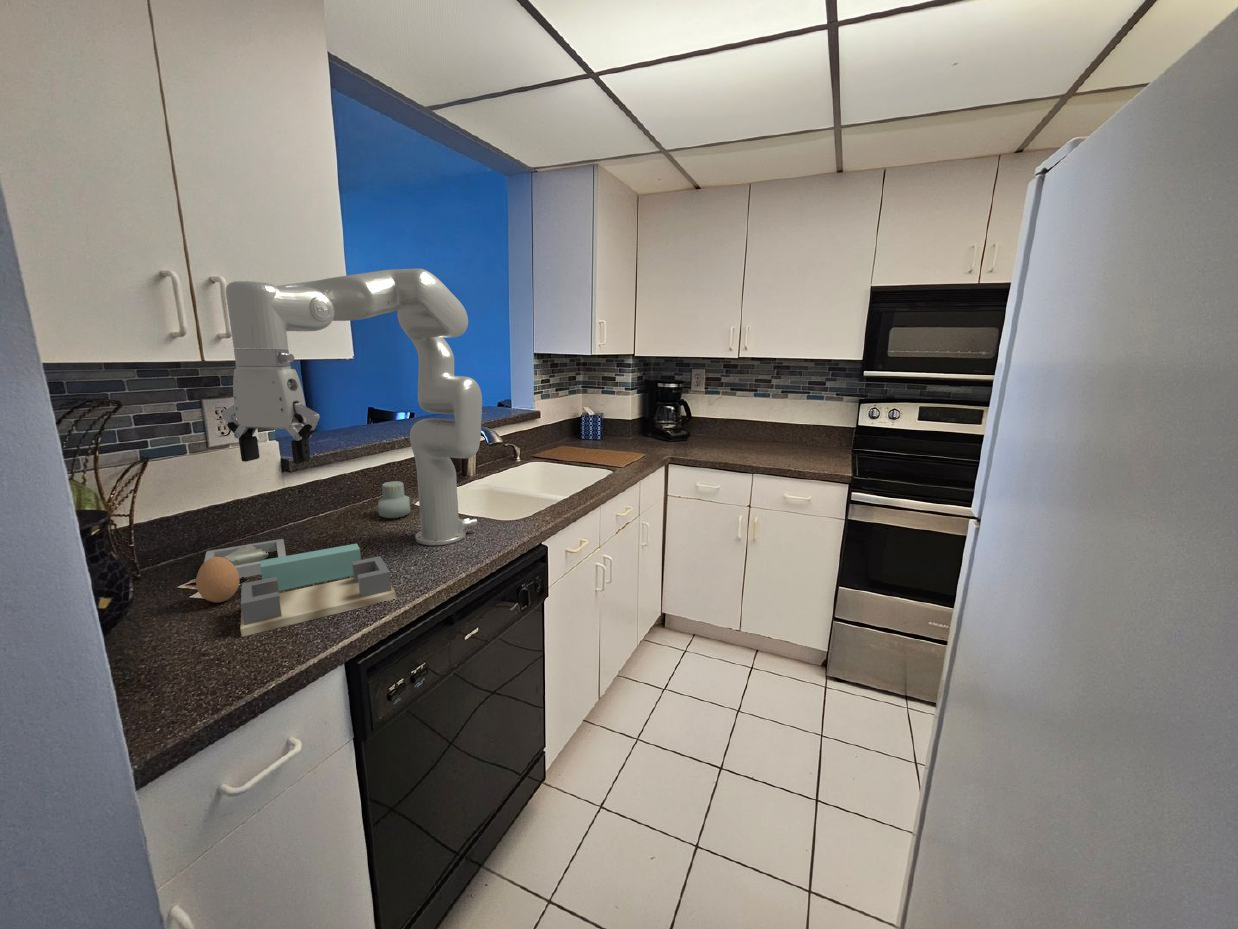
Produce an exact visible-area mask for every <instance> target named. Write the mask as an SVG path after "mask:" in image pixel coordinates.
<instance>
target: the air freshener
mask: <svg viewBox="0 0 1238 929" xmlns="http://www.w3.org/2000/svg"><path fill="white" fill-rule="evenodd" d="M404 485H405V484H404V482H402V481H397V480H395V481H393V480H392V481H387V482H383V484H381V492H382V497H381V498H379V499H378V503H377V504H378V505H377V506H378V507H377V509H378V510H377V511H378V515H379V516H380V517H382V518H385V519H398V518H399V517H400V518H403V517H406V516H407V515H409V514H410V513H411V498H410V497H409V496H408V495H405V486H404ZM405 515H406V516H405ZM400 518H399V519H400Z"/></svg>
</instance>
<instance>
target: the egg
mask: <svg viewBox="0 0 1238 929" xmlns="http://www.w3.org/2000/svg"><path fill="white" fill-rule="evenodd" d="M195 578H196V579H195V584H196V589H197V591H198V593H199V595H200V596H201V598H203V599H204V600H207V601H208V602H211V603H215V604H216V603H223V602H226V601H228V600H229V599H230V598H232V597H233V596H234V595H235V593H236V592H237V590H238V589H239V585H240V578H239V574H238V571H237V569H236V568H235V566H234V565H233V564H232V563H231V562H230V561H229V560H227V559H225V558H222V557H213V558H210V559H208V560H207V561H205V562H204V561H203V563H202V564H201V566H200V568H198V572H197V574H196V577H195Z"/></svg>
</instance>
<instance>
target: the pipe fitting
mask: <svg viewBox="0 0 1238 929" xmlns="http://www.w3.org/2000/svg"><path fill="white" fill-rule="evenodd" d="M250 544H251V543H248V544H245V546H243V547H241V548H239V549H238V550H236V551H235V552H233V553H231V554H229V555H227V556H225V557H223V558H225V559H227V560H229V561H230V562H231V563H232V564H233V565H234V566H237V565H242V564H248V563H253V562H259V561H261V560H267V557H269V553H268V552H267V553H266V552H265V551H262V549H256V548H255V547H254V546H252V545H250Z"/></svg>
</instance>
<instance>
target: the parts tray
mask: <svg viewBox="0 0 1238 929" xmlns="http://www.w3.org/2000/svg"><path fill="white" fill-rule="evenodd" d="M249 544H250V545H252V546H254V547H255V548H256V549H262V551H265V552H271V553H275V552H274V551H277V558H278V557H284V556H287V554H286V553H287V552H286V547H285V540H284V538H281V539H273V540H267V541H262V542H261V541H259V542H255V543H249ZM245 545H246V544H245ZM245 545H244V544H241V545H238V546H231V547H225V548H219V549H211V550H207V551H206V552H205V557H204V560H203V563H204V562H205V561H207V560H208V559H210V558H213V557H222V558H223V557H225V556H227V555H229V554H231V553H233V552H235V551H236V550H238V549H239V548H241V547H243V546H245ZM235 568H236V569H237V571H238V574H239V579H243V578H242V577H244V578H248V577H253V576H259V575H262V573H261V561H259V562H253V563H248V564H242V565H237V566H235Z"/></svg>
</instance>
